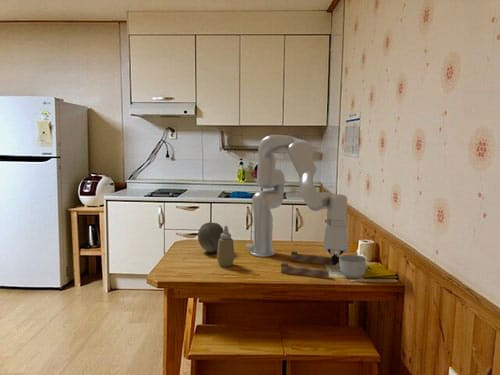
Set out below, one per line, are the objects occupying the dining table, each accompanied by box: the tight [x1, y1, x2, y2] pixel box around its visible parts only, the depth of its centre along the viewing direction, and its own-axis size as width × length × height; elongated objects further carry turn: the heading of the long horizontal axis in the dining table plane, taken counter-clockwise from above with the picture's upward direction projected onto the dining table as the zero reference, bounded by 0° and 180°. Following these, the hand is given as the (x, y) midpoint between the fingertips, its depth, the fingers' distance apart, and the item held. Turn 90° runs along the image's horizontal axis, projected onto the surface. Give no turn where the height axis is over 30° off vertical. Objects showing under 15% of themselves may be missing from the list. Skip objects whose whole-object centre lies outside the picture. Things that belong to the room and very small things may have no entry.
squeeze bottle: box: [216, 225, 235, 268], centre depth 174 cm, size 8×8×18 cm
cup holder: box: [280, 251, 334, 279], centre depth 173 cm, size 20×21×4 cm
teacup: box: [339, 253, 367, 279], centre depth 164 cm, size 14×11×8 cm
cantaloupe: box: [197, 221, 224, 254], centre depth 195 cm, size 14×14×15 cm
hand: (335, 264), depth 169 cm, fingers closed
